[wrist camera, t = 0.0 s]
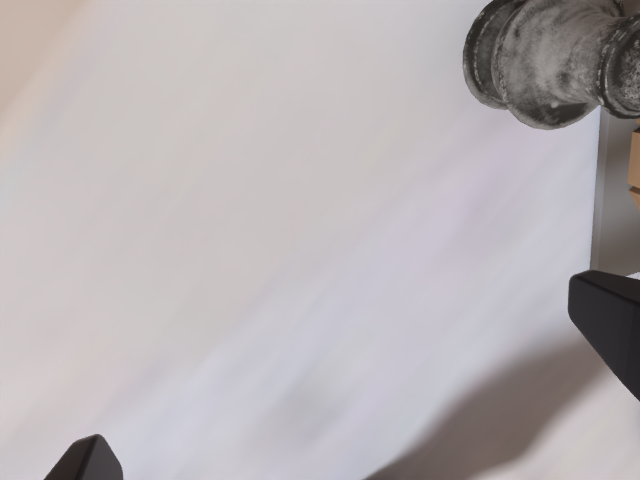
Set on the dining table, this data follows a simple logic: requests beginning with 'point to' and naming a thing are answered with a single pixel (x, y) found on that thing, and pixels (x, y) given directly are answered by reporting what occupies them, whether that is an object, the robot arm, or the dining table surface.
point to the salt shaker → (555, 60)
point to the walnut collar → (617, 192)
